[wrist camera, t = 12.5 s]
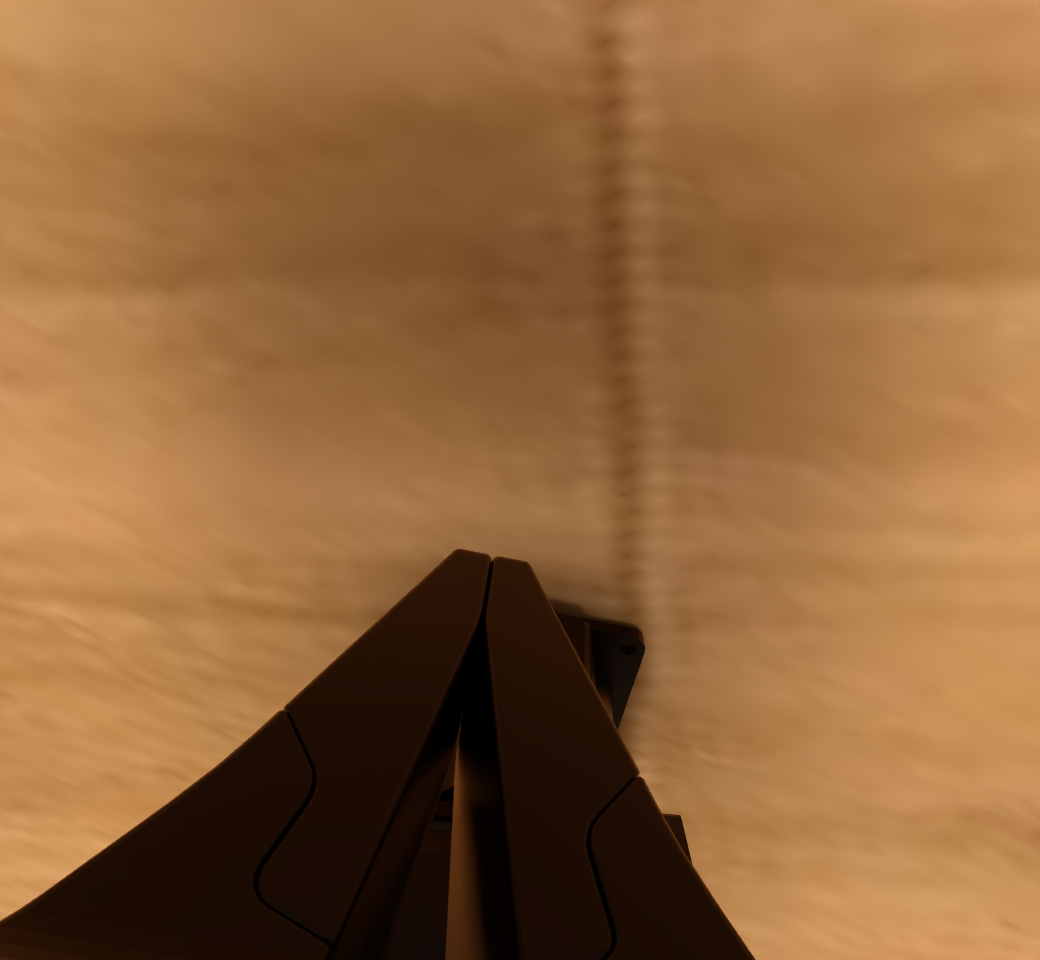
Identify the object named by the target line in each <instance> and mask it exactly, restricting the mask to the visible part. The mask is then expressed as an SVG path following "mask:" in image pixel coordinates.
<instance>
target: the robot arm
mask: <svg viewBox="0 0 1040 960" xmlns="http://www.w3.org/2000/svg"><path fill="white" fill-rule="evenodd" d="M624 643H632V644H634V645H632V646H627V647H626V646H623V645H622V644H624ZM644 653H645V641H644V637H643V635H642V633H641V632H640V631H638V630H637V629H634V628H630V627H625V626H620V625H614V624H609V623H604V622H599V621H593V620H588V619H583V618H578V617H572V616H567V615H562V614H557V613H555V611H554V609H553V607H552V605H551V603H550V602H549V600H548V598H547V596H546V594H545V592H544V590H543V588H542V586H541V585H540V583H539V581H538V579H537V577H536V575H535V573H534V571H533V569H532V567H531V566H530V564H528V563H527V562H525V561H520V560H515V559H510V558H505V557H495V558H494V559H493V560H492V563H491V557H490V556H489V555H488V554H484V553H479V552H474V551H468V550H463V549H457V550H455V551H454V552H452V553H451V554H450V555H449V556H448V557H447V558H446V559H445V560H444V561H443V562H442V563H440V564H439V565H438V566H437V567H436V568H435V569H434V570H433V571H432V572H431V573H430V574H428V575H427V576H426V577H425V578H424V579H423V580H422V581H421V582H420V583H419V584H418V585H416V586H415V587H414V588H413V589H412V590H411V591H410V592H409V593H408V594H407V595H406V596H404V597H403V598H402V599H401V600H400V601H399V602H398V603H397V604H396V605H395V606H394V607H392V608H391V609H390V610H389V611H388V612H387V613H386V614H385V615H384V616H383V617H382V618H380V619H379V620H378V621H377V622H376V623H375V624H374V625H373V626H372V627H371V628H370V629H368V630H367V631H366V632H365V633H364V634H363V635H362V636H361V637H360V638H359V639H358V640H356V641H355V642H354V643H353V644H352V645H351V646H350V647H349V648H348V649H347V650H346V651H344V652H343V653H342V654H341V655H340V656H339V657H338V658H337V659H336V660H335V661H334V662H332V663H331V664H330V665H329V666H328V667H327V668H326V669H325V670H324V671H323V672H322V673H320V674H319V675H318V676H317V677H316V678H315V679H314V680H313V681H312V682H311V683H310V684H308V685H307V686H306V687H305V688H304V689H303V690H302V691H301V692H300V693H299V694H298V695H296V696H295V697H294V698H293V699H292V700H291V701H290V702H289V703H288V704H287V705H286V706H285V707H284V711H283V710H281V711H279V712H277V713H276V714H275V715H274V716H273V717H272V718H271V719H270V720H269V721H268V722H266V723H265V724H264V725H263V726H262V727H261V728H260V729H259V730H258V731H257V732H256V733H255V734H254V735H252V736H251V737H250V738H249V739H248V740H246V741H245V742H244V743H243V744H242V745H241V746H239V747H238V748H237V749H236V750H235V751H234V752H232V753H231V754H230V755H229V756H228V757H227V758H225V759H224V760H223V761H222V762H221V763H220V764H218V765H217V766H216V767H215V768H214V769H212V770H211V771H210V772H208V773H207V774H206V775H204V776H203V777H202V778H200V779H199V780H198V781H196V782H195V783H194V784H192V785H191V786H190V787H188V788H187V789H186V790H184V791H183V792H182V793H181V794H179V795H178V796H177V797H175V798H174V799H173V800H171V801H170V802H169V803H167V804H166V805H165V806H163V807H162V808H160V809H159V810H158V811H156V812H155V813H153V814H152V815H151V816H149V817H148V818H147V819H145V820H144V821H142V822H141V823H140V824H138V825H137V826H135V827H134V828H133V829H131V830H130V831H129V832H127V833H126V834H124V835H123V836H122V837H120V838H119V839H117V840H116V841H115V842H113V843H112V844H110V845H109V846H108V847H106V848H105V849H104V850H102V851H101V852H99V853H98V854H97V855H95V856H94V857H92V858H91V859H90V860H88V861H87V862H86V863H84V864H83V865H81V866H80V867H79V868H77V869H76V870H74V871H73V872H72V873H70V874H69V875H67V876H66V877H65V878H63V879H62V880H61V881H59V882H58V883H56V884H55V885H54V886H52V887H51V888H49V889H48V890H47V891H45V892H44V893H43V894H41V895H40V896H38V897H37V898H35V899H34V900H32V901H31V902H29V903H28V904H26V905H25V906H24V907H22V908H21V909H19V910H18V911H16V912H14V913H12V914H11V915H9V916H7V917H6V918H4V919H2V920H1V921H0V960H756V959H755V958H754V957H753V955H752V954H751V952H750V951H749V949H748V948H747V946H746V945H745V943H744V942H743V940H742V939H741V937H740V936H739V934H738V933H737V932H736V930H735V929H734V927H733V926H732V924H731V923H730V921H729V920H728V918H727V917H726V915H725V914H724V912H723V911H722V910H721V908H720V907H719V905H718V904H717V902H716V901H715V899H714V898H713V896H712V895H711V893H710V891H709V890H708V888H707V887H706V885H705V884H704V882H703V881H702V879H701V877H700V876H699V874H698V873H697V871H696V870H695V868H694V867H693V865H692V861H691V857H690V853H689V848H688V844H687V840H686V836H685V832H684V827H683V823H682V819H681V816H680V815H672V814H662V812H661V811H660V809H659V807H658V805H657V803H656V802H655V800H654V798H653V796H652V794H651V792H650V790H649V788H648V786H647V784H646V782H645V780H644V779H643V778H642V777H639V770H638V768H637V766H636V764H635V762H634V760H633V758H632V757H631V755H630V753H629V751H628V749H627V747H626V745H625V743H624V741H623V740H622V738H621V736H620V734H619V732H618V727H619V724H620V721H621V719H622V716H623V713H624V710H625V707H626V704H627V701H628V698H629V696H630V693H631V690H632V687H633V684H634V681H635V678H636V676H637V673H638V670H639V667H640V664H641V661H642V658H643V655H644Z"/></svg>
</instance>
